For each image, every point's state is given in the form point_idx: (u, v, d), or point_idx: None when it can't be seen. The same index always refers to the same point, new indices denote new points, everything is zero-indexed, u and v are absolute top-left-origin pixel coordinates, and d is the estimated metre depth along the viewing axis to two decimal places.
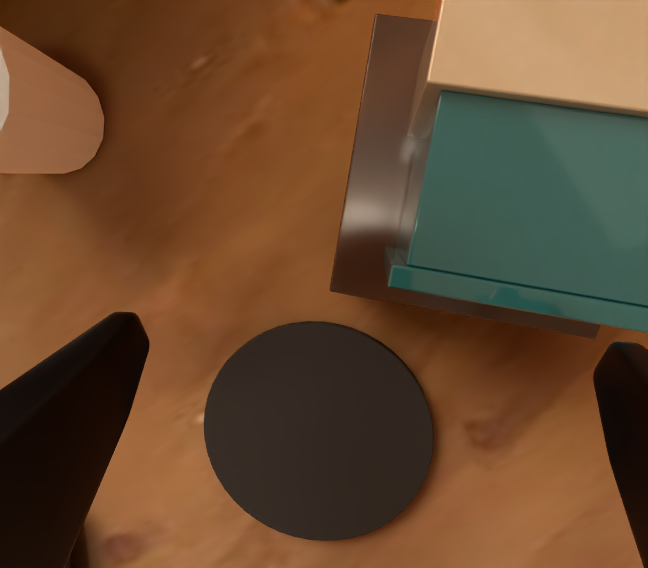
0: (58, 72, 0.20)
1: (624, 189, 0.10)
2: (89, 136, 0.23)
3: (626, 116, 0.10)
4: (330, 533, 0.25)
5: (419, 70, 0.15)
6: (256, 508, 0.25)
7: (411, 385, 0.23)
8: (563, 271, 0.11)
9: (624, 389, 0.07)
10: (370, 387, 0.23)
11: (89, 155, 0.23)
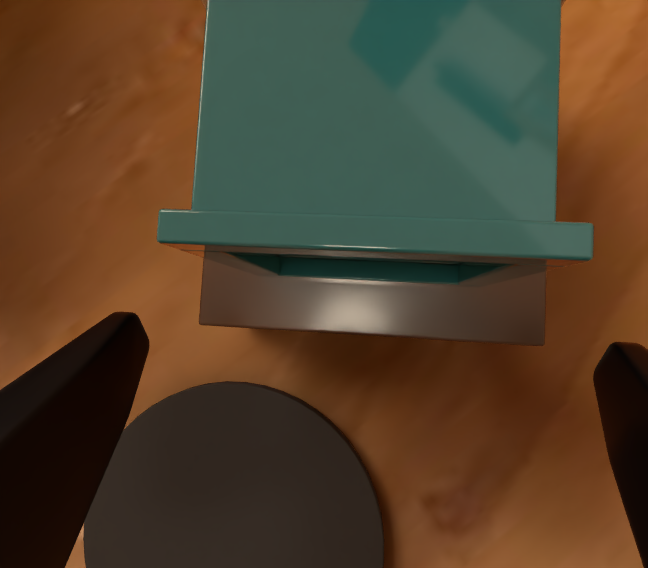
0: None
1: (471, 64, 0.07)
2: None
3: None
4: None
5: None
6: None
7: (343, 452, 0.18)
8: (412, 190, 0.07)
9: (624, 389, 0.07)
10: (292, 461, 0.18)
11: None
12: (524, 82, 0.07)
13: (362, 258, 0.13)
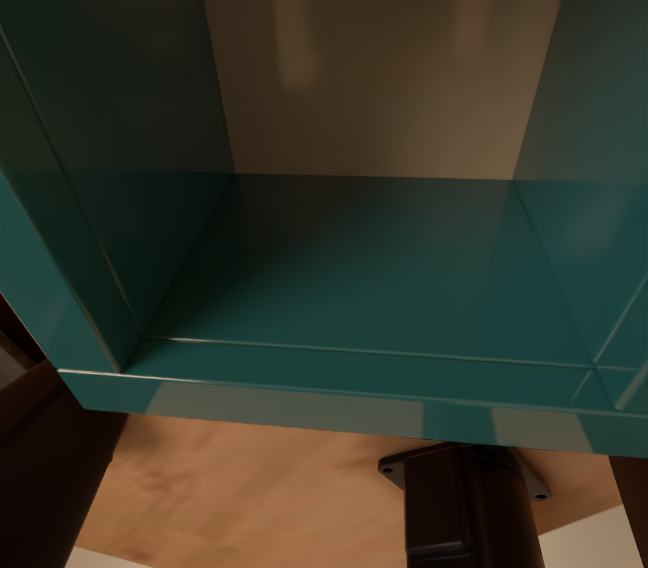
0: None
1: None
2: None
3: None
4: None
5: None
6: None
7: None
8: None
9: None
10: None
11: None
12: None
13: (342, 348, 0.05)
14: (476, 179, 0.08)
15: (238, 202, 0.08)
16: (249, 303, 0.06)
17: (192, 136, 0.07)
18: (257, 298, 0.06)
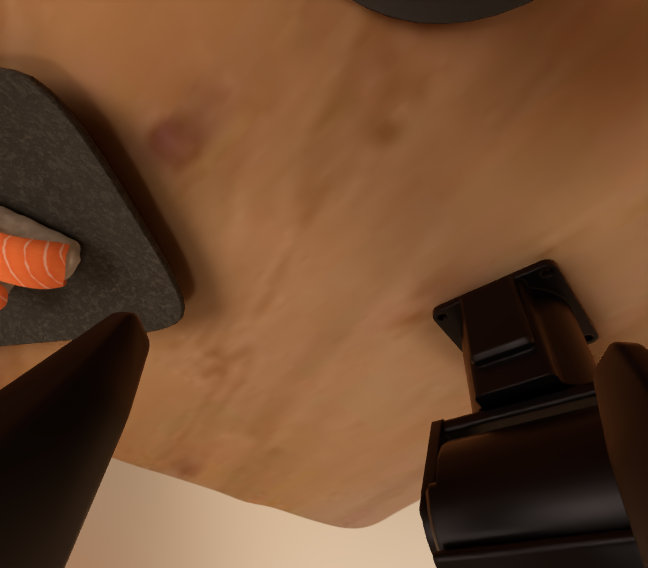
0: None
1: None
2: None
3: None
4: None
5: None
6: None
7: None
8: None
9: (624, 389, 0.07)
10: None
11: None
12: None
13: None
14: None
15: None
16: None
17: None
18: None
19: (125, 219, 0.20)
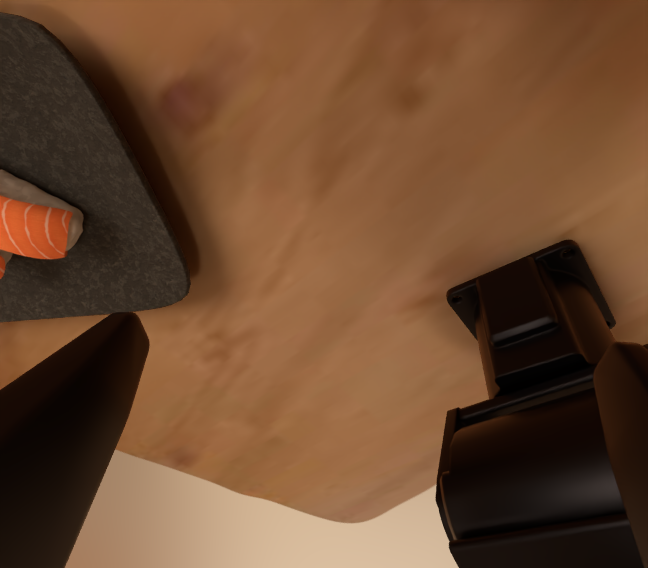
0: None
1: None
2: None
3: None
4: None
5: None
6: None
7: None
8: None
9: (624, 389, 0.07)
10: None
11: None
12: None
13: None
14: None
15: None
16: None
17: None
18: None
19: (132, 185, 0.19)
